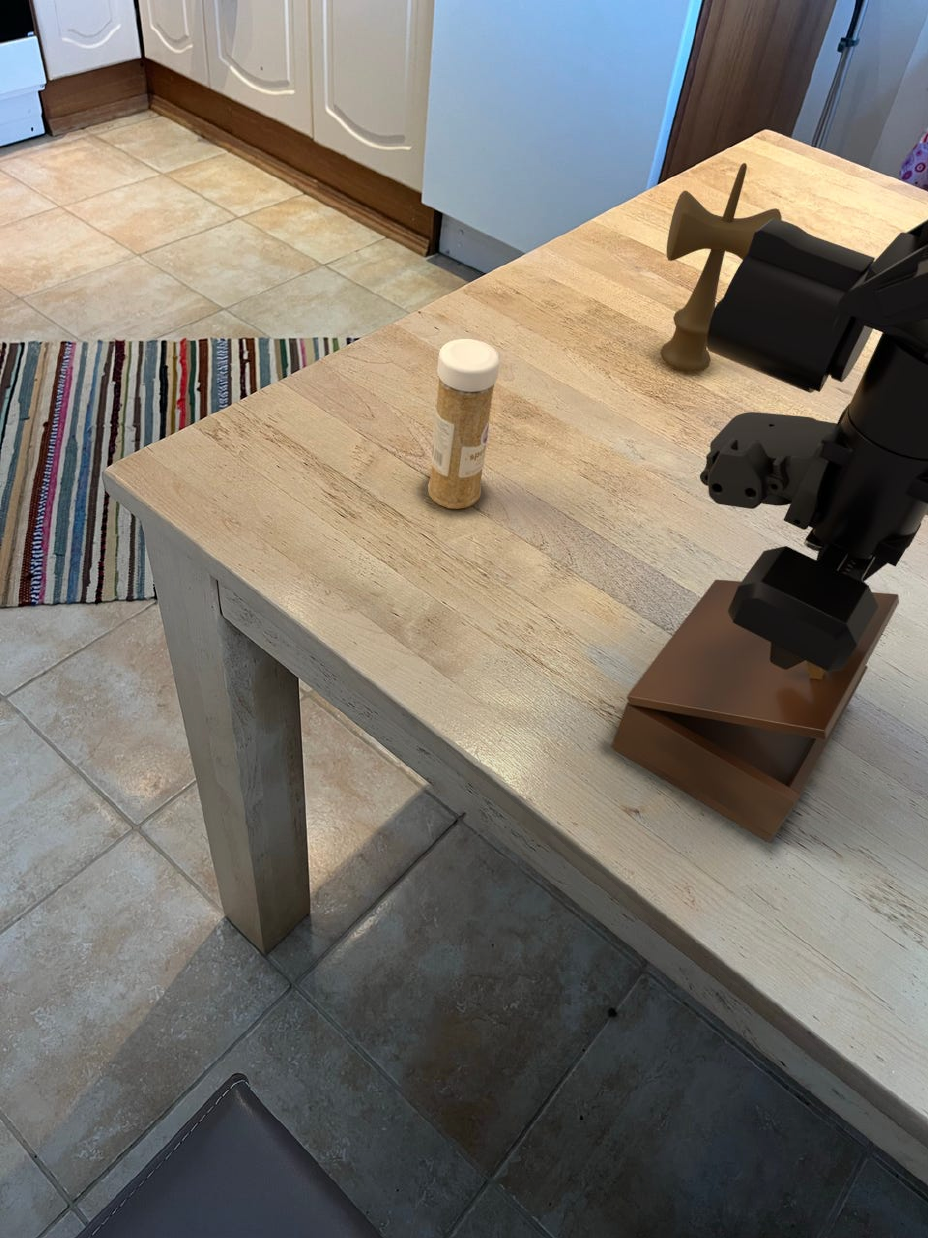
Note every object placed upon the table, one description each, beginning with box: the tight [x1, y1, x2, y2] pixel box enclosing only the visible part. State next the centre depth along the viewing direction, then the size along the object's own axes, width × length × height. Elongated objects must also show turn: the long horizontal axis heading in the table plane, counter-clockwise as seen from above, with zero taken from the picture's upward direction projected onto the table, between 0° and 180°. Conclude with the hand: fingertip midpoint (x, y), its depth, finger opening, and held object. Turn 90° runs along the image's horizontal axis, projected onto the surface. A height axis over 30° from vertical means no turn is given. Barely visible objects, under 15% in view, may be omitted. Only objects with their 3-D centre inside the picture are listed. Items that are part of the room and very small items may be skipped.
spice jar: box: [427, 338, 500, 510], centre depth 75 cm, size 5×5×13 cm
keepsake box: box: [610, 665, 869, 843], centre depth 64 cm, size 12×14×5 cm
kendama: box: [660, 162, 783, 373], centre depth 90 cm, size 6×10×20 cm, turn 81°
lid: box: [626, 579, 900, 740], centre depth 59 cm, size 12×14×4 cm
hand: (796, 636), depth 58 cm, fingers closed on lid, 5 cm apart
